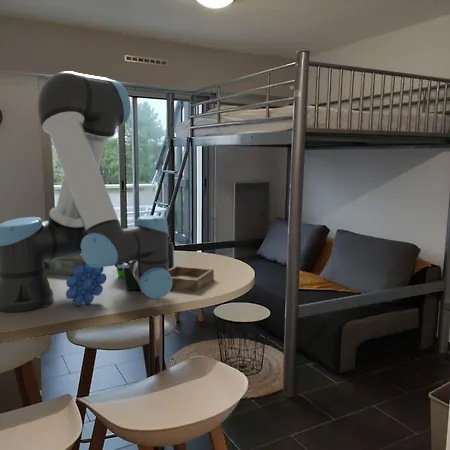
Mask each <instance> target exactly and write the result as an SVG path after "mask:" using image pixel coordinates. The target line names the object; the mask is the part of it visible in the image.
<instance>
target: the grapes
mask: <svg viewBox="0 0 450 450" xmlns="http://www.w3.org/2000/svg"><path fill="white" fill-rule="evenodd" d="M104 268H105V267H100V268H92V267H90V266H88V265H87V264H85V266H84V267H83V266H77V267H76V268H75V269H74V272H73V273H74V276H71V275H70V276H69V277H68V278H66V282H65V284H66V286H67V287H68V289H67V290H66V291H65V292H66V293H65V296H66V299H68V300H70V299H71V300H72V303H73V305H75V306H79V305H82V303H83V304H85V305H88V304H91V303H92V302H93V301H94V298H95V297H96V296H99V295H101V294H102V292H103V290H104V289H103V284H105V283H106V281H107V275H106V274H105V273H103V272H104Z"/></svg>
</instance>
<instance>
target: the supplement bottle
mask: <svg viewBox="0 0 450 450" xmlns="http://www.w3.org/2000/svg"><path fill="white" fill-rule="evenodd" d="M171 237H172V236H171V235H170V234H168V260H169V269H171V268H172V267H174V266H175V260H174V259H175V258H174V257H175V256H174V255H175V254H174V253H175V252H174V248H175V247H174V244H173V242H171V240H172V238H171Z"/></svg>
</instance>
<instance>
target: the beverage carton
mask: <svg viewBox="0 0 450 450" xmlns="http://www.w3.org/2000/svg"><path fill="white" fill-rule="evenodd" d="M85 264H86V263H85V261H84V260H83V258H82V255H81V254H80V255H78V256H75V257H68V258H62V259H57V260H52V261H47V262H45V274H52V275H61V276H62V275H63V276H71V275H72V276H74V273H73V272H74V269H75V268H76V267H77V266H83V267H84V266H85Z"/></svg>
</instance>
